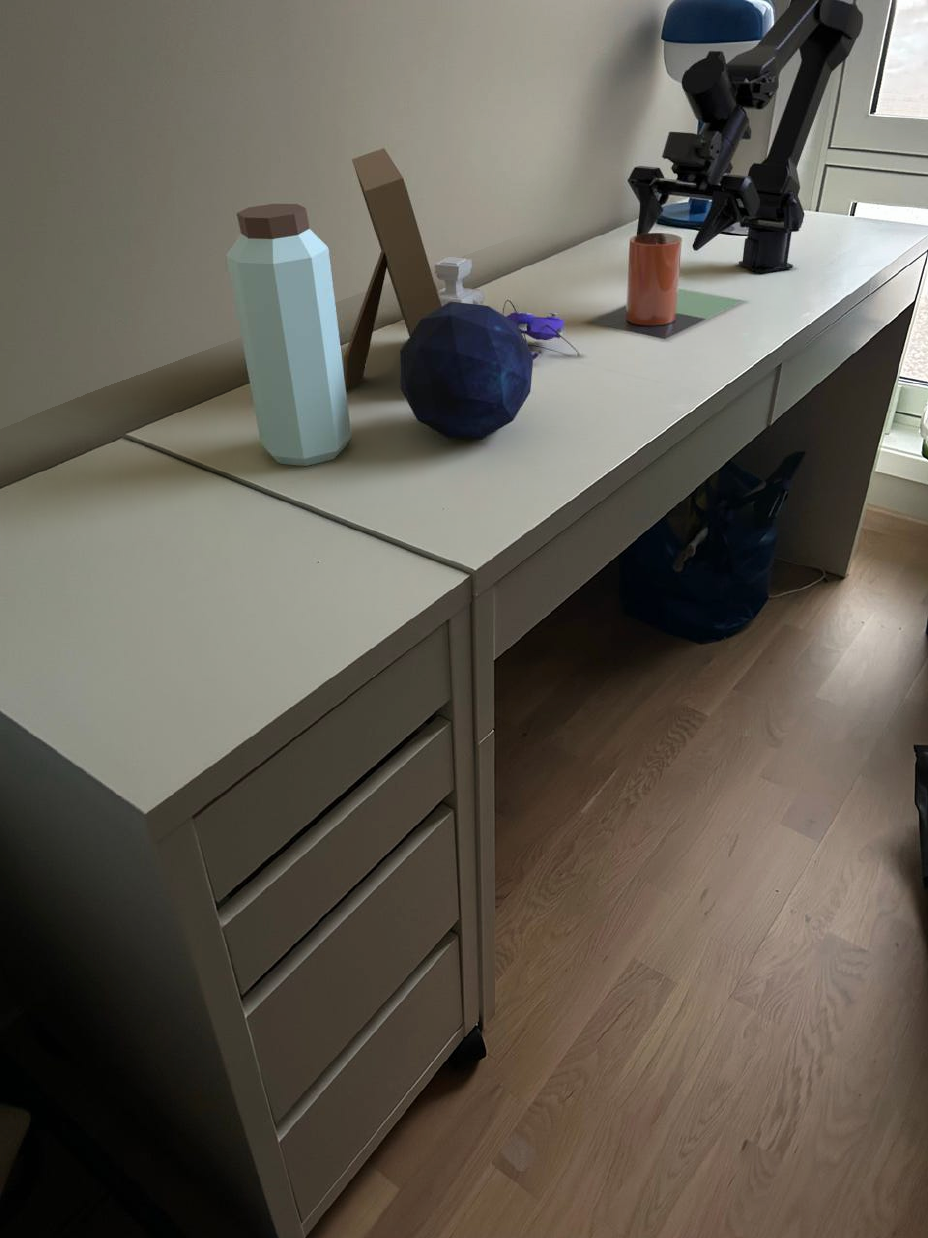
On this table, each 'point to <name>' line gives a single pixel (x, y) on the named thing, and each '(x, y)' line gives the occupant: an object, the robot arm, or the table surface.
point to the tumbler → (653, 278)
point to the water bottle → (290, 334)
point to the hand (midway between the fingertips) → (665, 244)
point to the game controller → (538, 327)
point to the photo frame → (390, 258)
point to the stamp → (456, 282)
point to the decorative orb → (465, 370)
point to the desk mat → (687, 314)
